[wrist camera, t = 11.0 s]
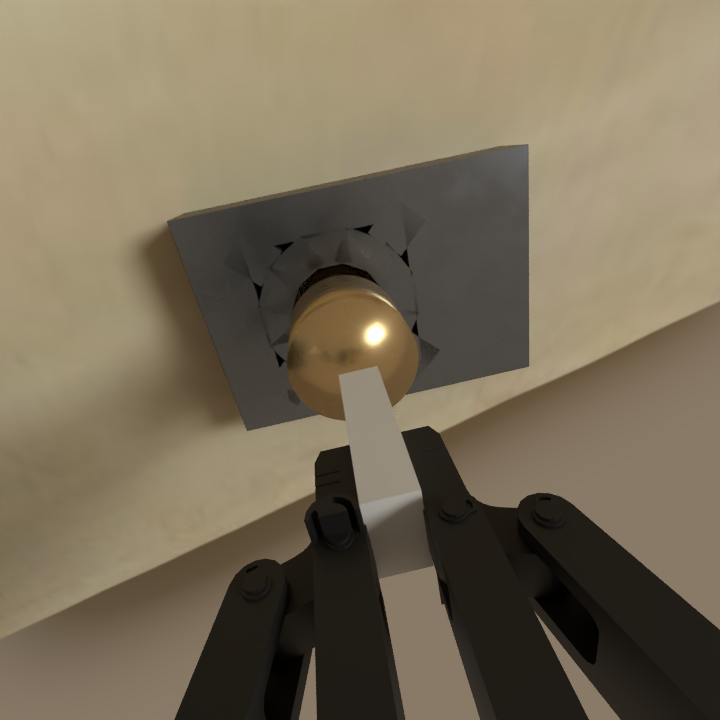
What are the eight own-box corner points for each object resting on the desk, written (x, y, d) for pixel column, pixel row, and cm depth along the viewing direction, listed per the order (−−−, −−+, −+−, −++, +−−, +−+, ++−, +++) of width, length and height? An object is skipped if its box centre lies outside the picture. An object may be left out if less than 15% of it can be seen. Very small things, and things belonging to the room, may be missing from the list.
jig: (252, 404, 32) (247, 431, 29) (183, 213, 25) (166, 221, 22) (507, 346, 32) (528, 366, 29) (501, 146, 26) (528, 144, 23)
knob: (304, 342, 30) (305, 432, 20) (282, 261, 27) (270, 319, 18) (385, 324, 30) (425, 405, 20) (371, 241, 28) (409, 288, 18)
